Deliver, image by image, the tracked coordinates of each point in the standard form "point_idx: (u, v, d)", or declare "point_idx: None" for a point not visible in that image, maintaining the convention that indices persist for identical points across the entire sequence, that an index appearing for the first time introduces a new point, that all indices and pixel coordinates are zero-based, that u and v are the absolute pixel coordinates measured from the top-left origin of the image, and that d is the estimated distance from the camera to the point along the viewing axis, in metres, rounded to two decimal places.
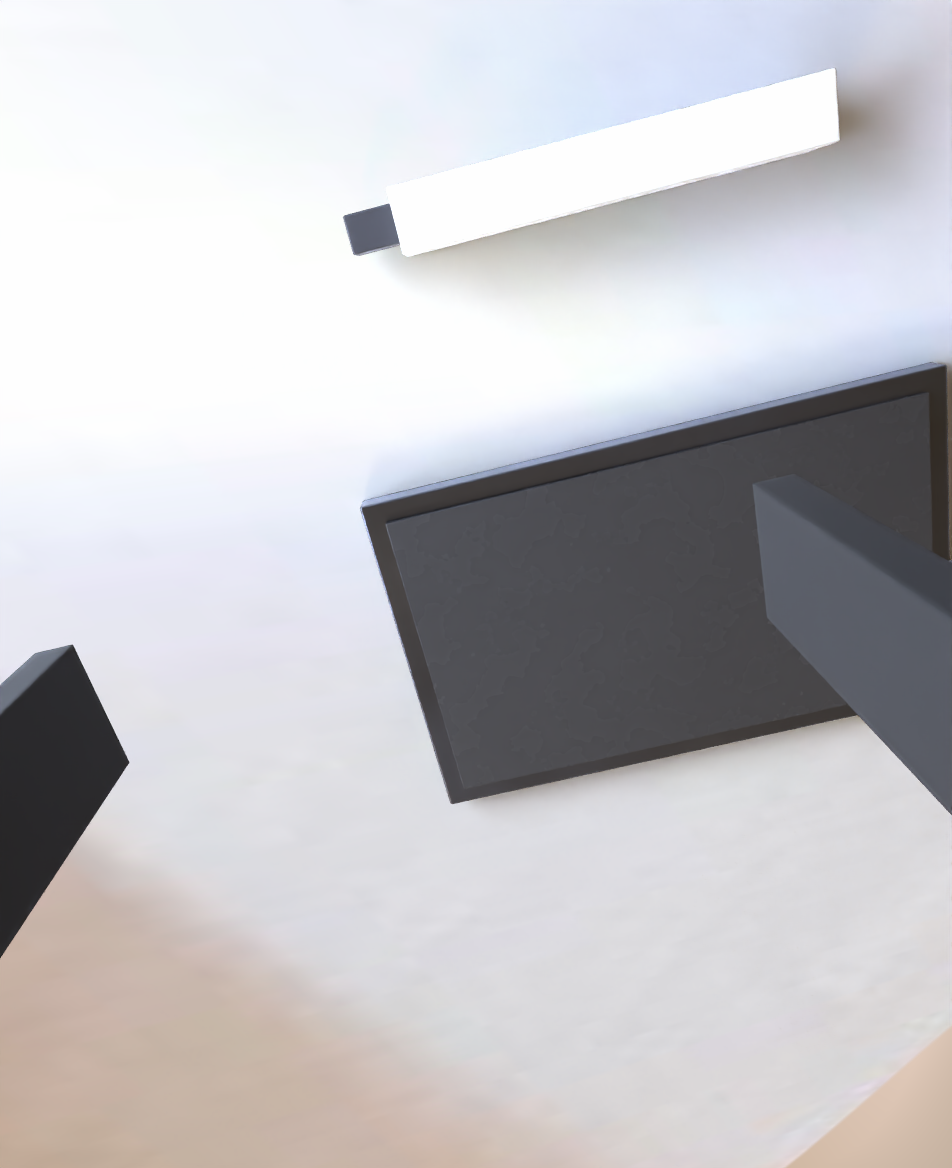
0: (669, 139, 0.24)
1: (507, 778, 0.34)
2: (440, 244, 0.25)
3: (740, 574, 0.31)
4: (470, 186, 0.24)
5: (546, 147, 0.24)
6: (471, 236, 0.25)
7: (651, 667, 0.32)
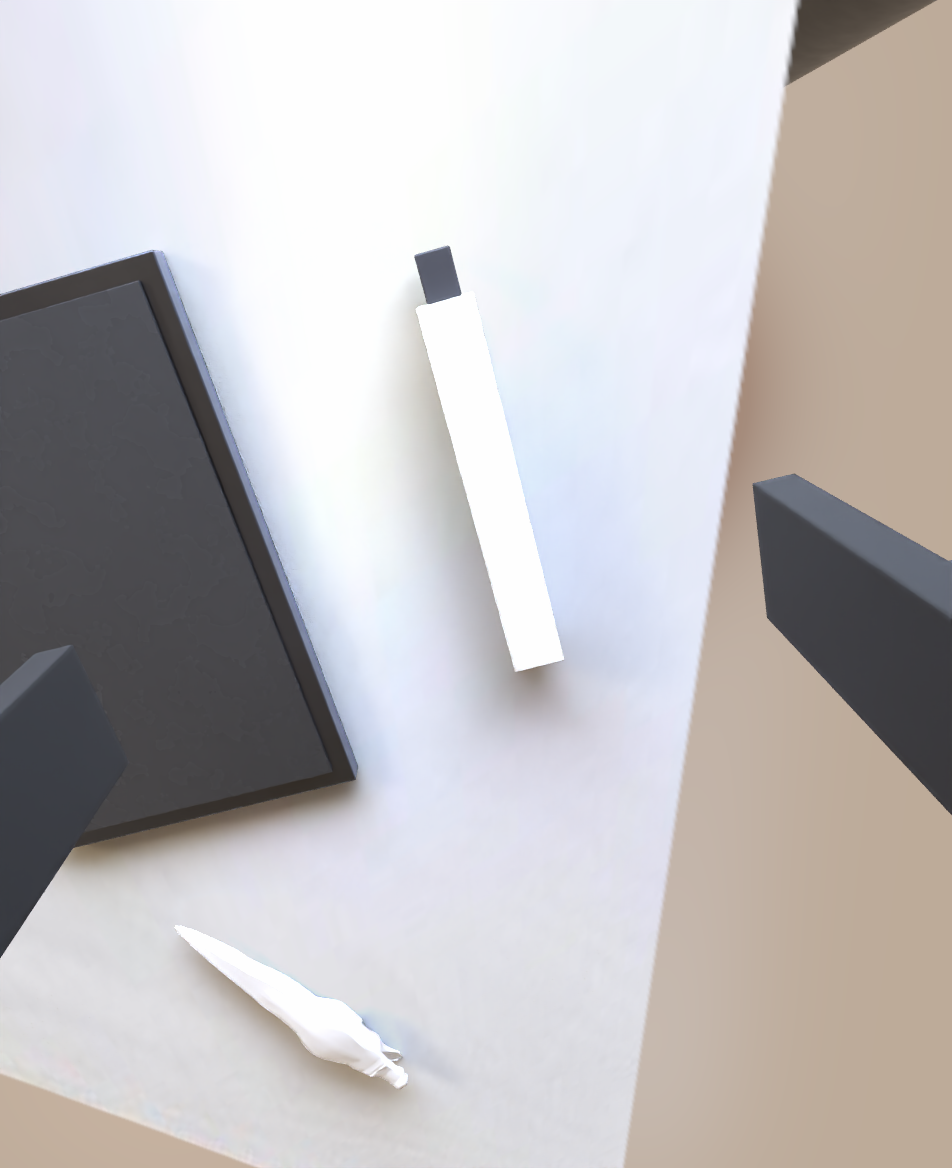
0: (515, 544, 0.29)
1: None
2: (426, 346, 0.26)
3: (144, 651, 0.31)
4: (476, 375, 0.26)
5: (508, 442, 0.27)
6: (434, 376, 0.26)
7: (23, 580, 0.30)
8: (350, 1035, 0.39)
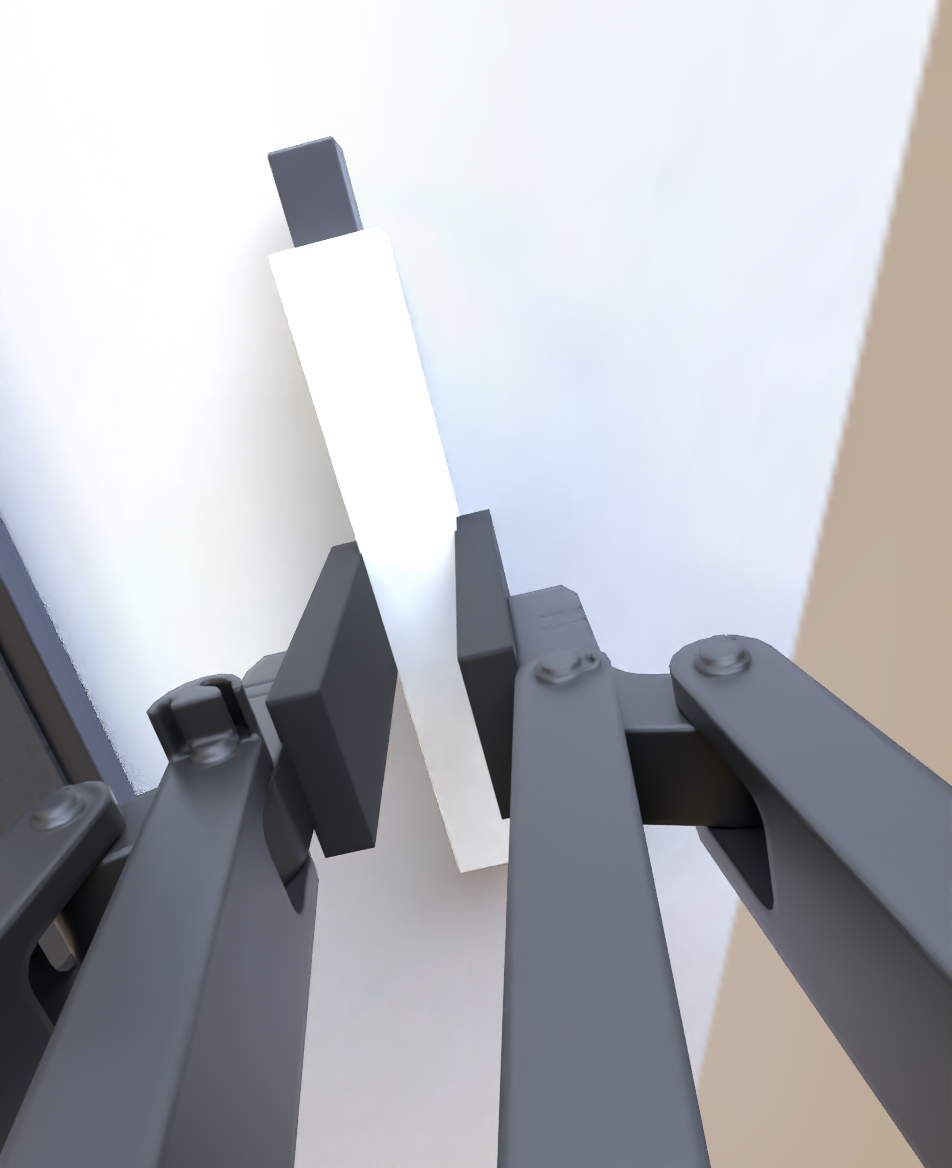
0: (459, 675, 0.17)
1: None
2: (291, 327, 0.14)
3: None
4: (386, 382, 0.14)
5: (445, 504, 0.15)
6: (308, 384, 0.14)
7: None
8: None
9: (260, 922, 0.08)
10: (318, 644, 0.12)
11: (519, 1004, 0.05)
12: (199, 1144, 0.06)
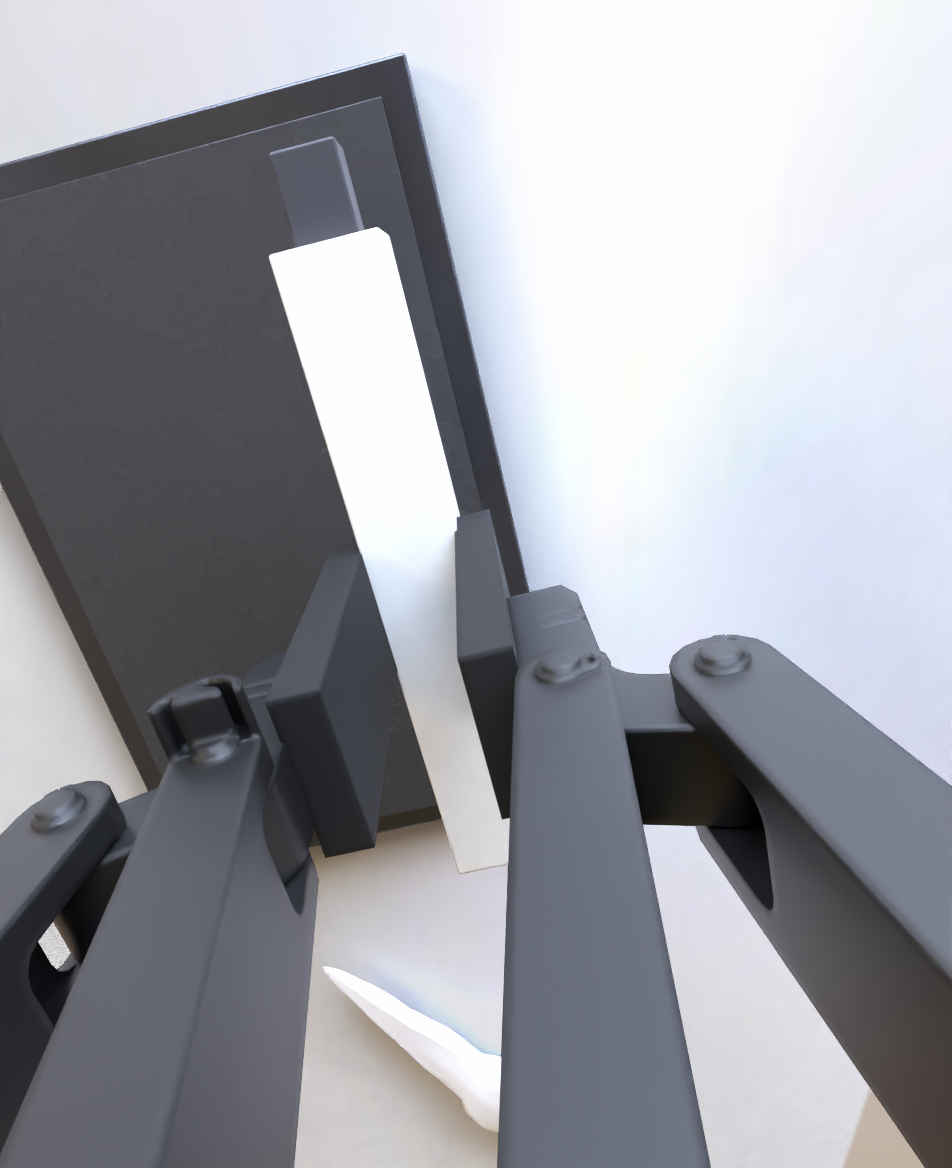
0: (459, 675, 0.17)
1: None
2: (291, 327, 0.14)
3: None
4: (386, 383, 0.14)
5: (446, 505, 0.15)
6: (309, 384, 0.14)
7: (180, 520, 0.23)
8: None
9: (260, 922, 0.08)
10: (318, 644, 0.12)
11: (518, 1004, 0.05)
12: (197, 1145, 0.06)
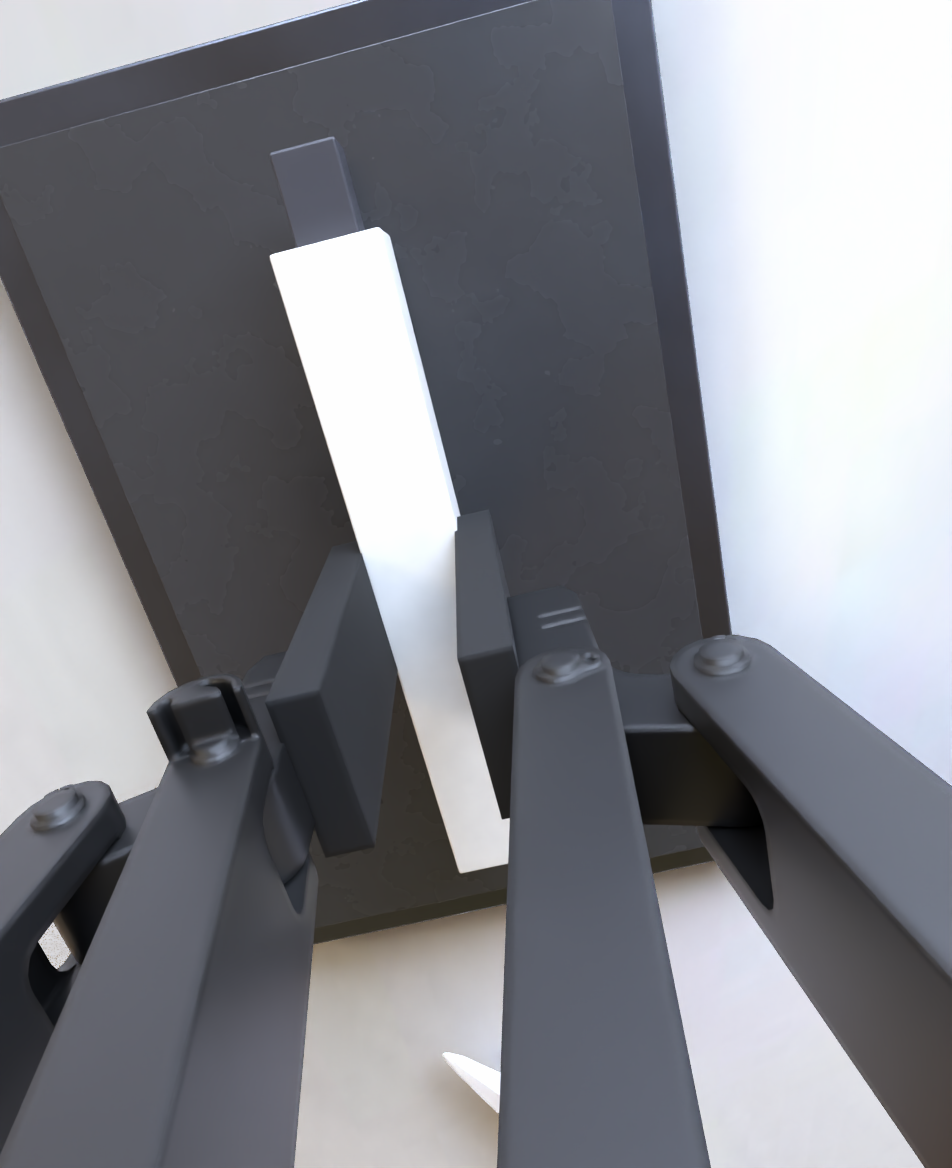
0: (459, 675, 0.17)
1: (28, 257, 0.16)
2: (292, 327, 0.14)
3: None
4: (387, 383, 0.14)
5: (446, 504, 0.15)
6: (309, 384, 0.14)
7: (312, 529, 0.18)
8: None
9: (260, 922, 0.08)
10: (318, 644, 0.12)
11: (519, 1004, 0.05)
12: (198, 1145, 0.06)
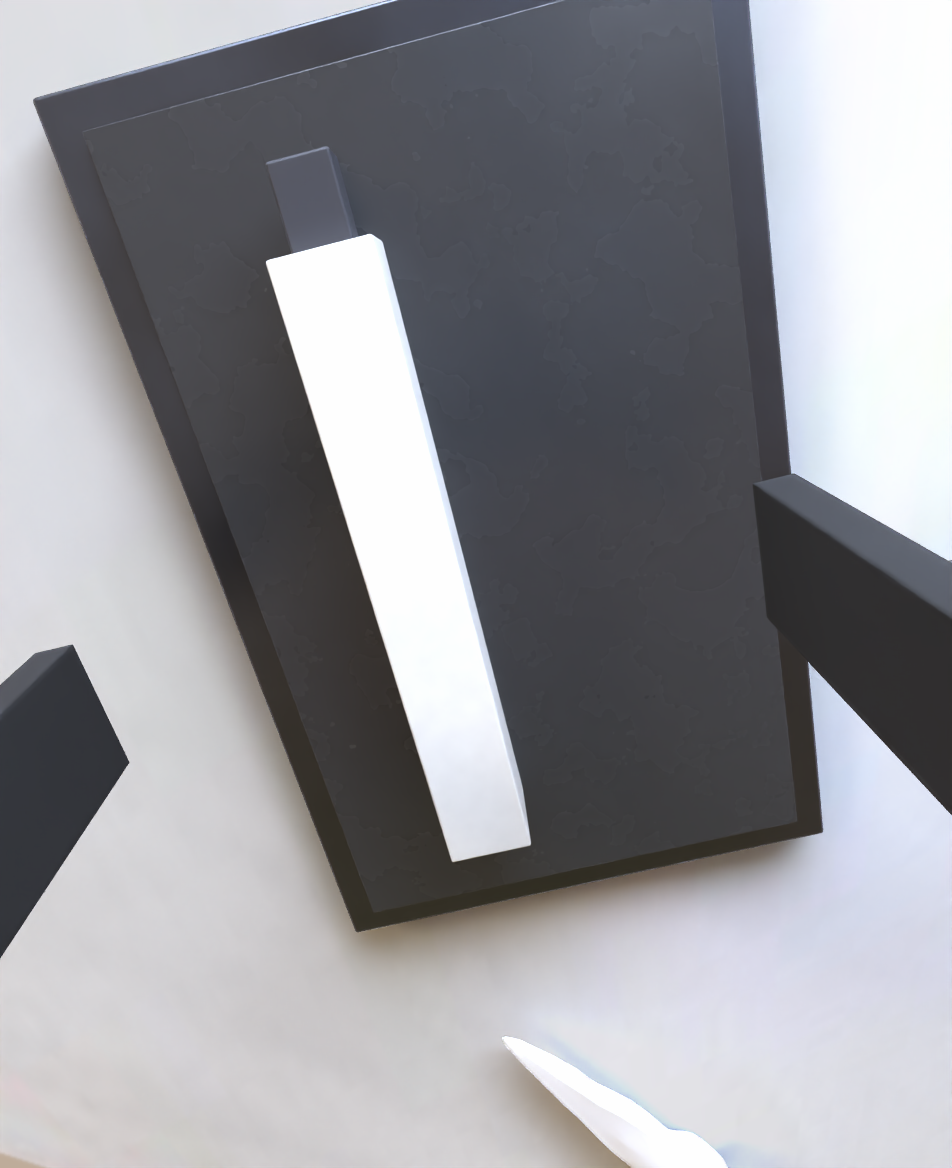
0: (450, 668, 0.17)
1: (123, 236, 0.16)
2: (288, 330, 0.14)
3: (560, 631, 0.20)
4: (380, 384, 0.15)
5: (437, 502, 0.16)
6: (304, 385, 0.15)
7: None
8: None
9: None
10: None
11: None
12: None
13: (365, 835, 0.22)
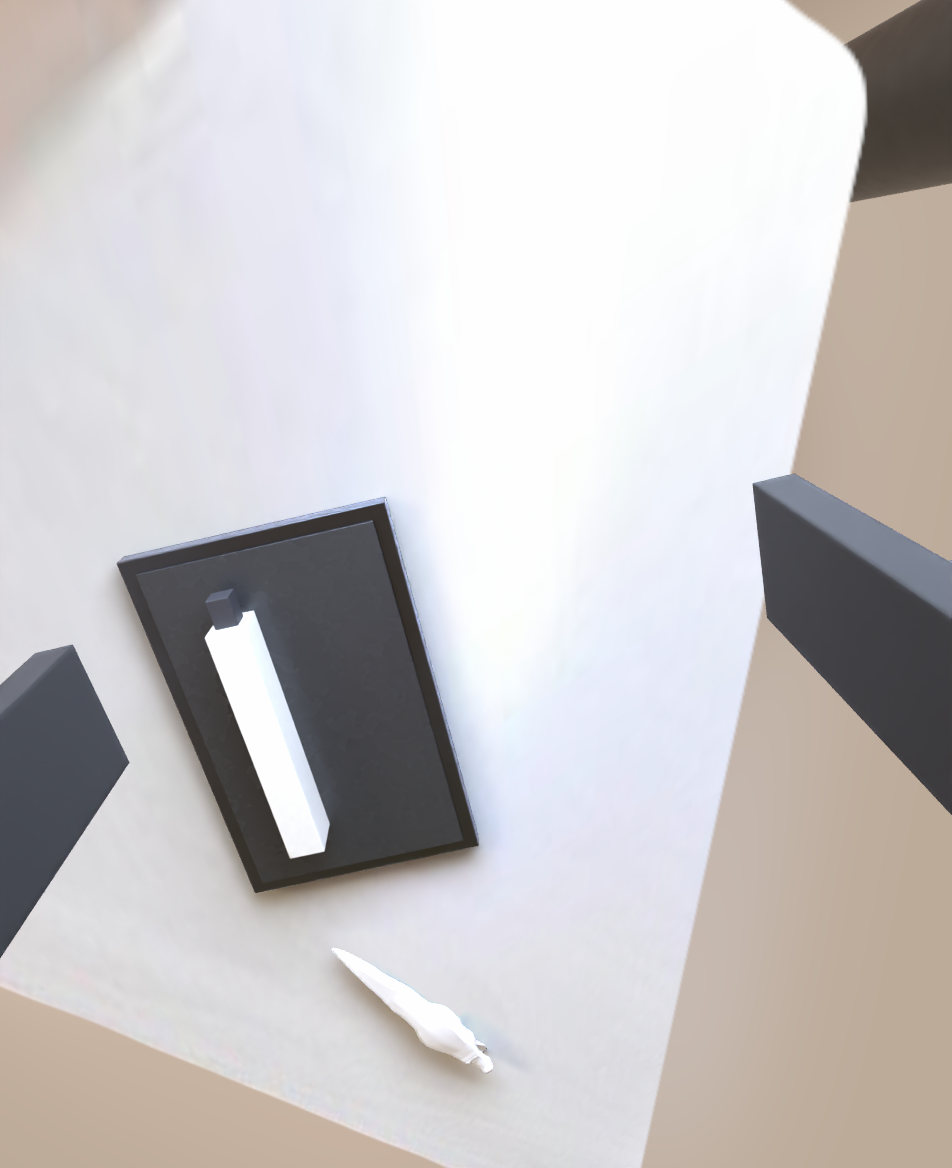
0: (283, 778, 0.41)
1: (150, 609, 0.40)
2: (213, 659, 0.39)
3: (341, 756, 0.44)
4: (248, 676, 0.39)
5: (273, 716, 0.40)
6: (220, 677, 0.39)
7: None
8: (455, 1032, 0.52)
9: None
10: None
11: None
12: None
13: (257, 845, 0.46)
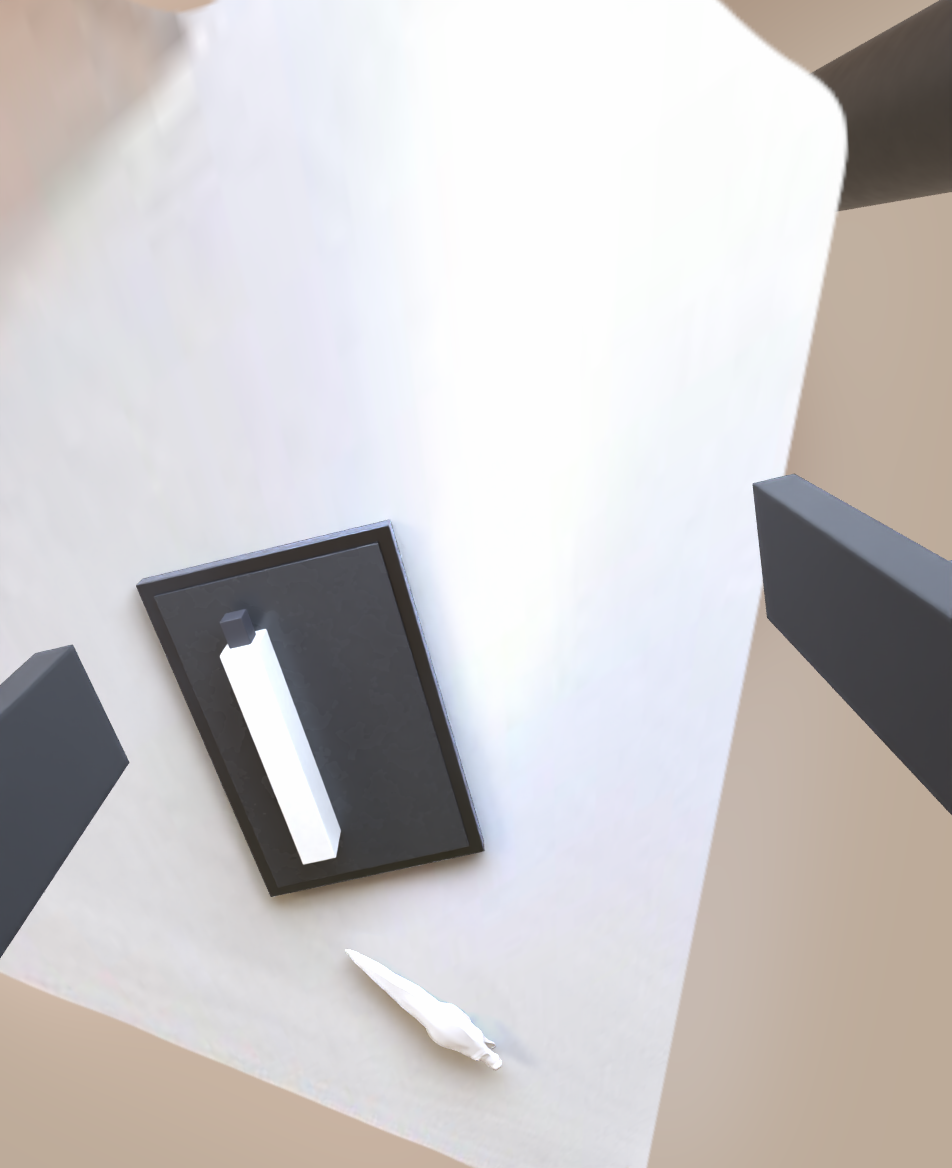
0: (296, 788, 0.43)
1: (168, 628, 0.42)
2: (228, 676, 0.41)
3: (350, 766, 0.46)
4: (261, 692, 0.41)
5: (286, 730, 0.42)
6: None
7: None
8: (464, 1030, 0.53)
9: None
10: None
11: None
12: None
13: (271, 851, 0.48)
